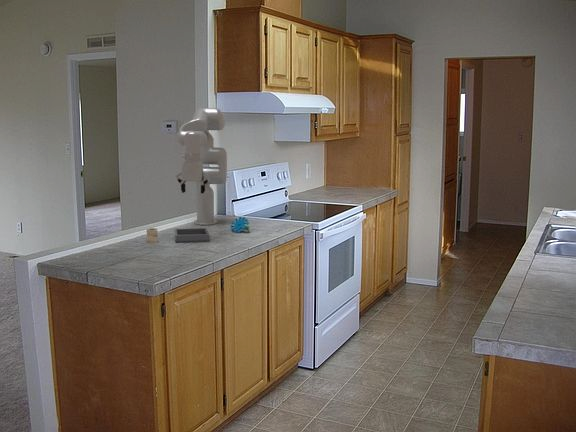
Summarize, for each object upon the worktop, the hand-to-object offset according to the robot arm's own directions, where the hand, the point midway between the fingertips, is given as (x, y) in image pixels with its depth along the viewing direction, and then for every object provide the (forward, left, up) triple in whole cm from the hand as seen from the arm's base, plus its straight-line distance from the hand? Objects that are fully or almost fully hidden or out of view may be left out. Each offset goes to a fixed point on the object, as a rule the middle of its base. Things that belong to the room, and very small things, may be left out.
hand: (193, 192), depth 303 cm
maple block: (+2, -20, -23) cm, 31 cm away
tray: (-1, -1, -23) cm, 23 cm away
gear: (-14, +25, -23) cm, 37 cm away
